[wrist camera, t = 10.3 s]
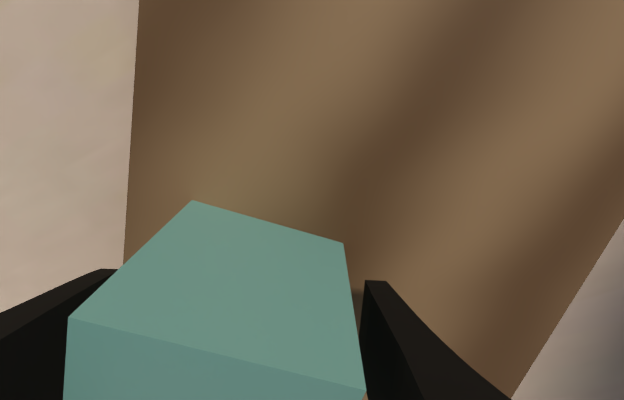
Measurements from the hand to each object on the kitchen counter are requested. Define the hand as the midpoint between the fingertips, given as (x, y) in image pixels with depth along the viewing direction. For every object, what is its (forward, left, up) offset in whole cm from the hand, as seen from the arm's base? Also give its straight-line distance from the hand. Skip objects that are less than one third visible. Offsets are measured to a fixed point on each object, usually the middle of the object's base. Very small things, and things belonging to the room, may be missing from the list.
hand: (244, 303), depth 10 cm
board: (-3, -3, -2) cm, 5 cm away
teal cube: (0, 0, -1) cm, 1 cm away
